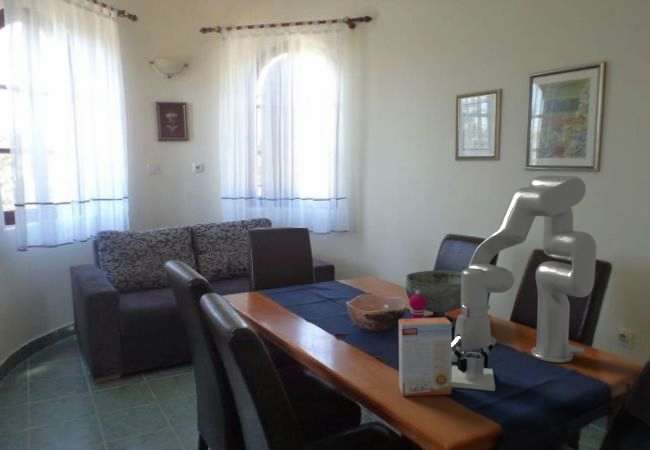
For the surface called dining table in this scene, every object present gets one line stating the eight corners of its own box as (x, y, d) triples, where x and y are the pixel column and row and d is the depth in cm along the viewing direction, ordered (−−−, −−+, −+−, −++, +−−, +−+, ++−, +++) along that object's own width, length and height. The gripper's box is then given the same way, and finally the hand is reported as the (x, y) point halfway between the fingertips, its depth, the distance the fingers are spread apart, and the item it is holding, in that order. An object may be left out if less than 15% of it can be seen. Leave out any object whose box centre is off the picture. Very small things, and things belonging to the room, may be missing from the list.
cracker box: (446, 385, 146) (447, 316, 143) (451, 395, 140) (453, 323, 137) (398, 387, 146) (398, 317, 143) (402, 397, 140) (402, 324, 137)
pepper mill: (427, 349, 174) (428, 293, 171) (406, 348, 175) (407, 292, 173) (427, 342, 181) (428, 288, 178) (407, 341, 182) (407, 287, 180)
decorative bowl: (472, 336, 185) (472, 282, 183) (402, 332, 191) (401, 281, 190) (471, 317, 210) (470, 270, 209) (409, 314, 217) (408, 269, 215)
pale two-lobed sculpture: (456, 368, 161) (442, 360, 164) (468, 360, 167) (454, 352, 170) (460, 357, 160) (446, 349, 163) (471, 349, 166) (458, 341, 169)
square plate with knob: (492, 373, 154) (492, 353, 153) (494, 391, 142) (495, 369, 142) (451, 370, 157) (452, 350, 156) (451, 386, 145) (451, 365, 145)
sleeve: (474, 369, 153) (475, 350, 153) (488, 377, 148) (488, 358, 147) (457, 372, 151) (458, 353, 150) (470, 381, 145) (470, 361, 145)
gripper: (489, 304, 153) (488, 359, 156) (441, 310, 147) (440, 368, 150) (506, 310, 146) (505, 369, 149) (456, 318, 140) (455, 378, 143)
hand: (472, 368), depth 149 cm, fingers open, 7 cm apart
